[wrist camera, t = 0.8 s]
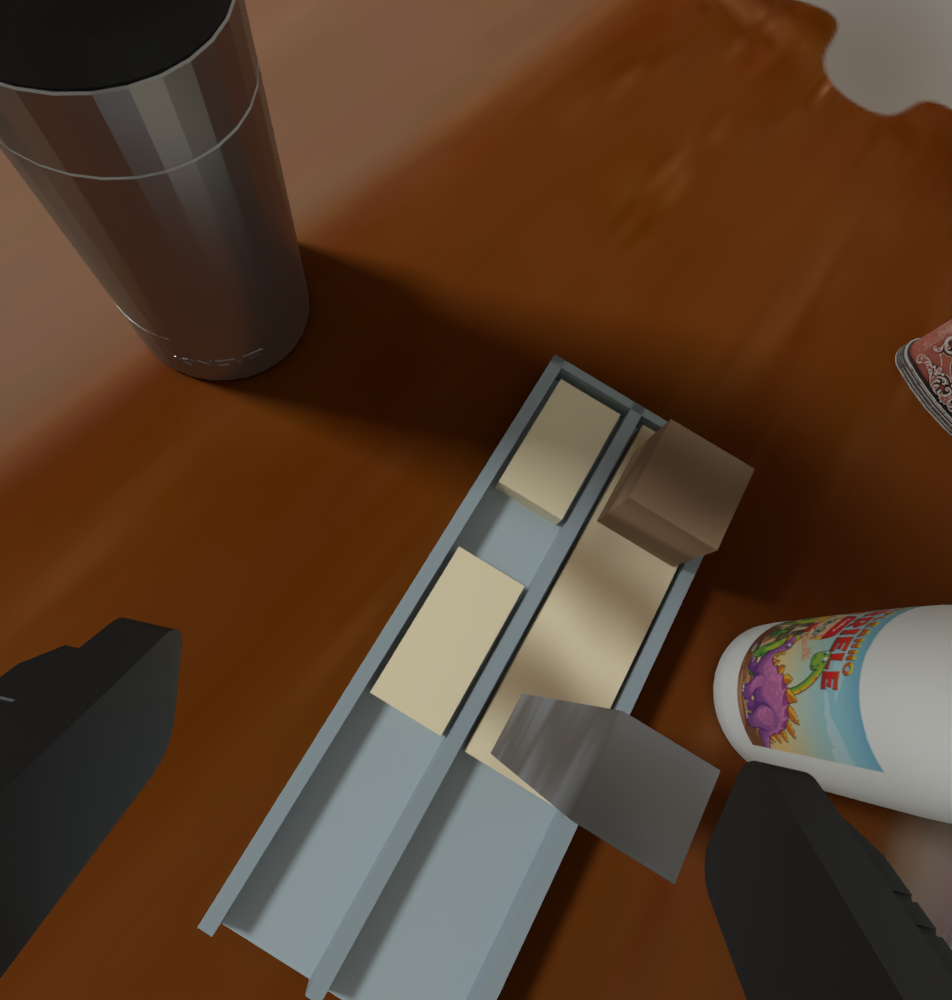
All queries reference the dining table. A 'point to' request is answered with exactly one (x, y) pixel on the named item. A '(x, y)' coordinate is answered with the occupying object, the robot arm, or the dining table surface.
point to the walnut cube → (676, 495)
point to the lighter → (930, 372)
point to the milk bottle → (848, 704)
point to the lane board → (441, 741)
